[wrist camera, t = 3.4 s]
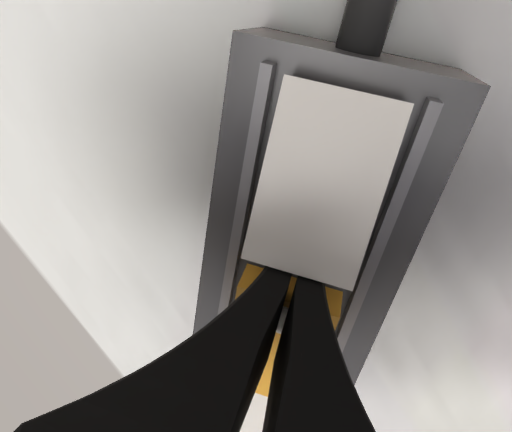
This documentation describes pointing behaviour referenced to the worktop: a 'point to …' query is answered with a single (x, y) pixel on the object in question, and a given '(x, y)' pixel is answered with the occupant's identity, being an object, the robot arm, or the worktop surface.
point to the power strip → (402, 177)
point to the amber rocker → (284, 317)
